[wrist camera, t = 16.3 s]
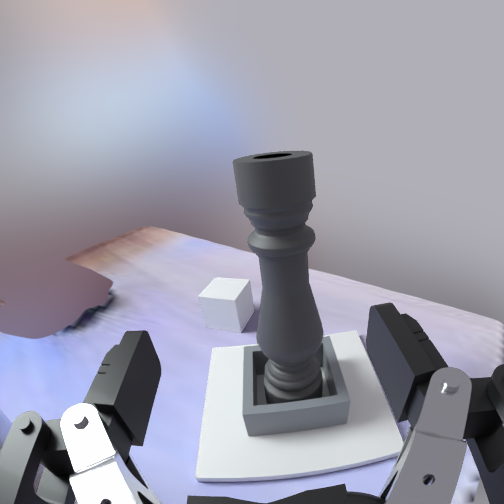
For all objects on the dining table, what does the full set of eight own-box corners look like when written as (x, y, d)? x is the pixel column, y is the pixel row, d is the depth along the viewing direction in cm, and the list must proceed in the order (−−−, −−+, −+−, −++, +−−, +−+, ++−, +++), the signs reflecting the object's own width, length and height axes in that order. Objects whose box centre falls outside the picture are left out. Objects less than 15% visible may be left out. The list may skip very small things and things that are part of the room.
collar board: (197, 481, 23) (182, 459, 21) (213, 353, 41) (206, 325, 39) (403, 454, 22) (416, 428, 20) (355, 335, 40) (357, 306, 38)
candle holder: (329, 410, 28) (329, 155, 18) (271, 424, 28) (232, 166, 18) (313, 372, 34) (301, 148, 24) (262, 383, 34) (226, 158, 24)
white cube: (241, 333, 45) (234, 300, 42) (206, 328, 47) (197, 296, 45) (254, 311, 50) (249, 279, 48) (221, 307, 52) (215, 277, 50)
